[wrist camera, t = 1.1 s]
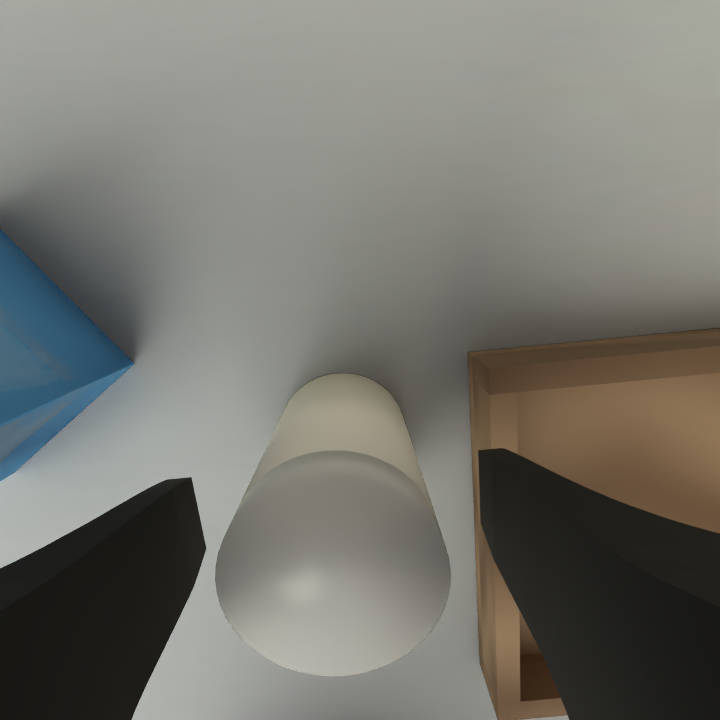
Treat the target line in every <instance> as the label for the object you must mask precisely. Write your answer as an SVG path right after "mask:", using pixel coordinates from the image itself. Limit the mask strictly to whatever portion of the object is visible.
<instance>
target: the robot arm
mask: <svg viewBox="0 0 720 720" xmlns="http://www.w3.org/2000/svg"><path fill="white" fill-rule="evenodd" d="M478 462H479V493H480V523H481V526H482V529H483V532H484V534H485V537H486V540H487V543H488V546H489V548H490V551H491V554H492V556H493V559H494V561H495V563H496V565H497V567H498V569H499V571H500V573H501V575H502V577H503V579H504V581H505V583H506V585H507V587H508V589H509V591H510V593H511V595H512V597H513V599H514V601H515V603H516V605H517V607H518V608H519V610H520V612H521V614H522V616H523V618H524V620H525V622H526V624H527V626H528V628H529V630H530V632H531V634H532V636H533V638H534V640H535V641H536V643H537V645H538V647H539V649H540V651H541V653H542V656H543V658H544V660H545V662H546V664H547V666H548V668H549V671H550V673H551V675H552V678H553V680H554V683H555V685H556V688H557V690H558V692H559V695H560V697H561V700H562V702H563V705H564V707H565V710H566V712H567V715H568V717H569V720H720V533H716V532H712V531H709V530H705V529H701V528H698V527H694V526H691V525H687V524H684V523H681V522H677V521H674V520H671V519H668V518H665V517H662V516H659V515H656V514H653V513H650V512H647V511H645V510H642V509H639V508H636V507H633V506H630V505H628V504H625V503H622V502H620V501H617V500H615V499H612V498H610V497H608V496H605V495H603V494H600V493H598V492H596V491H593V490H591V489H589V488H586V487H584V486H582V485H580V484H578V483H575V482H573V481H571V480H569V479H567V478H565V477H563V476H561V475H559V474H557V473H555V472H552V471H550V470H548V469H546V468H544V467H542V466H540V465H538V464H536V463H535V462H533V461H531V460H529V459H527V458H525V457H522V456H520V455H518V454H516V453H514V452H512V451H510V450H507V449H504V448H497V449H486V450H478ZM205 551H206V545H205V540H204V536H203V531H202V526H201V521H200V516H199V512H198V507H197V502H196V497H195V493H194V488H193V483H192V478H191V477H190V478H180V479H169V480H165V481H163V482H160V483H158V484H156V485H154V486H152V487H150V488H148V489H146V490H145V491H143V492H141V493H139V494H137V495H136V496H134V497H132V498H130V499H129V500H127V501H125V502H123V503H122V504H120V505H118V506H116V507H115V508H113V509H111V510H109V511H108V512H106V513H104V514H103V515H101V516H99V517H97V518H96V519H94V520H92V521H90V522H89V523H87V524H85V525H83V526H81V527H80V528H78V529H76V530H74V531H72V532H70V533H68V534H67V535H65V536H63V537H61V538H59V539H57V540H56V541H54V542H52V543H50V544H48V545H46V546H45V547H43V548H41V549H39V550H37V551H35V552H33V553H31V554H29V555H27V556H25V557H23V558H21V559H19V560H17V561H15V562H13V563H11V564H9V565H7V566H5V567H2V568H0V720H131V719H132V717H133V714H134V712H135V709H136V707H137V705H138V702H139V700H140V698H141V696H142V693H143V691H144V689H145V687H146V684H147V682H148V680H149V678H150V676H151V674H152V672H153V670H154V668H155V666H156V664H157V662H158V660H159V658H160V656H161V654H162V652H163V650H164V648H165V646H166V644H167V641H168V639H169V637H170V635H171V633H172V631H173V629H174V627H175V625H176V623H177V621H178V619H179V617H180V615H181V613H182V611H183V608H184V606H185V604H186V602H187V600H188V598H189V596H190V594H191V591H192V589H193V587H194V584H195V581H196V578H197V576H198V573H199V570H200V567H201V563H202V560H203V557H204V554H205Z"/></svg>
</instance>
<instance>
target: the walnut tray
mask: <svg viewBox="0 0 720 720" xmlns="http://www.w3.org/2000/svg"><path fill="white" fill-rule="evenodd" d="M468 365H469V391H470V417H471V444H472V470H473V497H474V523H475V549H476V576H477V602H478V628H479V655H480V666H481V669H482V672H483V675H484V678H485V681H486V685H487V688H488V691H489V694H490V697H491V700H492V704H493V707H494V710H495V713H496V716H497V719H498V720H520V719H531V718H542V717H553V716H564V715H567V712H566V710H565V707H564V705H563V702H562V700H561V697H560V695H559V692H558V690H557V688H556V685H555V683H554V680H553V678H552V675H551V673H550V671H549V668H548V666H547V664H546V662H545V660H544V658H543V656H542V653H541V651H540V649H539V647H538V645H537V643H536V641H535V640H534V638H533V636H532V634H531V632H530V630H529V628H528V626H527V624H526V622H525V620H524V618H523V616H522V614H521V612H520V610H519V608H518V607H517V605H516V603H515V601H514V599H513V597H512V595H511V593H510V591H509V589H508V587H507V585H506V583H505V581H504V579H503V577H502V575H501V573H500V571H499V569H498V567H497V565H496V563H495V561H494V559H493V556H492V554H491V551H490V548H489V546H488V543H487V540H486V537H485V534H484V532H483V529H482V526H481V523H480V493H479V462H478V450H486V449H497V448H504V449H507V450H510V451H512V452H514V453H516V454H518V455H520V456H522V457H525V458H527V459H529V460H531V461H533V462H535V463H536V464H538V465H540V466H542V467H544V468H546V469H548V470H550V471H552V472H555V473H557V474H559V475H561V476H563V477H565V478H567V479H569V480H571V481H573V482H575V483H578V484H580V485H582V486H584V487H586V488H589V489H591V490H593V491H596V492H598V493H600V494H603V495H605V496H608V497H610V498H612V499H615V500H617V501H620V502H622V503H625V504H628V505H630V506H633V507H636V508H639V509H642V510H645V511H647V512H650V513H653V514H656V515H659V516H662V517H665V518H668V519H671V520H674V521H677V522H681V523H684V524H687V525H691V526H694V527H698V528H701V529H705V530H709V531H712V532H716V533H720V328H714V329H704V330H693V331H683V332H673V333H662V334H652V335H642V336H631V337H621V338H611V339H600V340H590V341H580V342H569V343H559V344H549V345H538V346H528V347H518V348H507V349H497V350H487V351H476V352H468Z"/></svg>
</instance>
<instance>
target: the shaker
mask: <svg viewBox="0 0 720 720" xmlns="http://www.w3.org/2000/svg"><path fill="white" fill-rule="evenodd" d="M215 581H216V589H217V595H218V598H219V602H220V605H221V608H222V610H223V612H224V614H225V617H226V619H227V620H228V622H229V623H230V625H231V626H232V628H233V629H234V631H235V632H236V633H237V634H238V635H239V637H240V638H241V639H242V640H243V641H244V642H245V643H246V644H247V645H248V646H250V647H251V648H252V649H253V650H254V651H256V652H257V653H259V654H260V655H261V656H263V657H264V658H266V659H268V660H270V661H272V662H274V663H275V664H278V665H280V666H283V667H285V668H288V669H290V670H294V671H297V672H301V673H306V674H311V675H318V676H348V675H355V674H361V673H365V672H369V671H373V670H376V669H378V668H381V667H384V666H386V665H388V664H390V663H392V662H394V661H396V660H398V659H400V658H401V657H403V656H404V655H406V654H407V653H409V652H410V651H412V650H413V649H414V648H415V647H416V646H418V645H419V644H420V643H421V642H422V641H423V640H424V639H425V638H426V637H427V635H428V634H429V633H430V632H431V631H432V629H433V628H434V626H435V625H436V623H437V622H438V620H439V618H440V616H441V614H442V612H443V610H444V608H445V605H446V602H447V599H448V594H449V588H450V564H449V557H448V554H447V550H446V547H445V544H444V541H443V537H442V534H441V531H440V528H439V525H438V522H437V519H436V516H435V513H434V510H433V507H432V504H431V501H430V498H429V495H428V491H427V488H426V485H425V482H424V479H423V476H422V473H421V470H420V467H419V464H418V461H417V458H416V455H415V452H414V449H413V446H412V442H411V439H410V436H409V433H408V430H407V427H406V424H405V421H404V418H403V415H402V412H401V410H400V408H399V405H398V404H397V402H396V401H395V399H394V398H393V397H392V395H391V394H390V393H389V392H388V391H387V390H386V389H385V388H383V387H382V386H381V385H379V384H378V383H376V382H374V381H373V380H371V379H368V378H366V377H363V376H360V375H355V374H348V373H336V374H330V375H325V376H322V377H319V378H317V379H314V380H312V381H310V382H309V383H307V384H305V385H304V386H303V387H302V388H300V389H299V390H298V391H297V392H296V393H295V394H294V395H293V396H292V398H291V399H290V401H289V402H288V404H287V406H286V408H285V410H284V412H283V414H282V416H281V418H280V420H279V422H278V424H277V427H276V429H275V431H274V433H273V435H272V437H271V439H270V441H269V443H268V446H267V448H266V450H265V452H264V454H263V456H262V458H261V460H260V463H259V465H258V467H257V469H256V471H255V473H254V475H253V477H252V479H251V482H250V484H249V486H248V488H247V490H246V492H245V494H244V496H243V499H242V501H241V503H240V505H239V507H238V509H237V511H236V513H235V515H234V518H233V520H232V522H231V524H230V526H229V528H228V530H227V532H226V535H225V537H224V539H223V541H222V544H221V547H220V550H219V552H218V557H217V562H216V575H215Z"/></svg>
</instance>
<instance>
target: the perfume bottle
mask: <svg viewBox="0 0 720 720" xmlns="http://www.w3.org/2000/svg"><path fill="white" fill-rule="evenodd" d="M132 365H134V363H133V362H132V361H131V360H130V359H129V358H128V357H127V356H126V355H125V354H124V353H123V352H122V351H121V350H120V349H119V348H118V347H117V346H116V345H115V344H114V343H113V342H112V341H111V340H110V339H109V338H108V337H107V336H106V335H105V334H104V333H103V332H102V331H101V330H100V329H99V328H98V327H97V326H96V325H95V324H94V323H93V322H92V321H91V320H90V319H89V318H88V317H87V316H86V315H85V314H84V313H83V312H82V311H81V310H80V309H79V308H78V307H77V306H76V305H75V304H74V303H73V302H72V301H71V300H70V299H69V298H68V297H67V296H66V295H65V294H64V293H63V292H62V291H61V290H60V289H59V288H58V287H57V286H56V285H55V284H54V283H53V282H52V281H51V280H50V279H49V278H48V277H47V276H46V275H45V274H44V273H43V272H42V271H41V270H40V269H39V268H38V267H37V266H36V265H35V264H34V263H33V262H32V261H31V260H30V259H29V258H28V257H27V256H26V255H25V254H24V253H23V252H22V251H21V250H20V249H19V248H18V247H17V246H16V245H15V244H14V243H13V242H12V241H11V240H10V239H9V238H8V237H7V236H6V235H5V234H4V233H3V232H2V231H1V230H0V481H1V480H3V479H5V478H6V477H8V476H10V475H11V474H13V473H14V472H15V471H16V470H17V469H19V468H20V467H21V466H22V465H23V464H24V463H25V462H26V461H27V460H28V459H30V458H31V457H32V456H33V455H34V454H35V453H36V452H37V451H38V450H40V449H41V448H42V447H43V446H44V445H45V444H46V443H47V442H48V441H49V440H51V439H52V438H53V437H54V436H55V435H56V434H57V433H58V432H59V431H61V430H62V429H63V428H64V427H65V426H66V425H67V424H68V423H69V422H70V421H72V420H73V419H74V418H75V417H76V416H77V415H78V414H79V413H80V412H82V411H83V410H84V409H85V408H86V407H87V406H88V405H89V404H90V403H92V402H93V401H94V400H95V399H96V398H97V397H98V396H99V395H100V394H101V393H103V392H104V391H105V390H106V389H107V388H108V387H109V386H110V385H111V384H113V383H114V382H115V381H116V380H117V379H118V378H119V377H120V376H121V375H122V374H124V373H125V372H126V371H127V370H128V369H129V368H130V367H131V366H132Z"/></svg>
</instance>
